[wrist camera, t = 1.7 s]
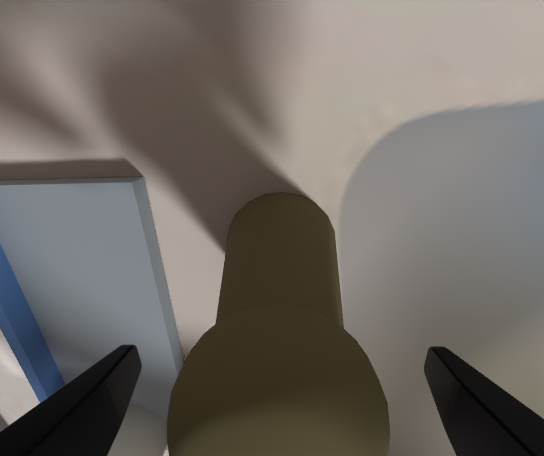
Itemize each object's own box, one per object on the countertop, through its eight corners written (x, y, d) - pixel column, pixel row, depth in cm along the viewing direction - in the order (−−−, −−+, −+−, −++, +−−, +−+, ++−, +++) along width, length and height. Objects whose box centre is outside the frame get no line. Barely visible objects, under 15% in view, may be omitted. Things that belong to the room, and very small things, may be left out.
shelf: (199, 433, 22) (189, 470, 20) (95, 431, 23) (74, 467, 20) (144, 176, 14) (116, 189, 12) (-16, 180, 15) (-72, 193, 12)
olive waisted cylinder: (321, 177, 14) (424, 357, 4) (345, 276, 16) (452, 560, 6) (211, 210, 15) (49, 425, 5) (248, 298, 17) (194, 578, 7)
